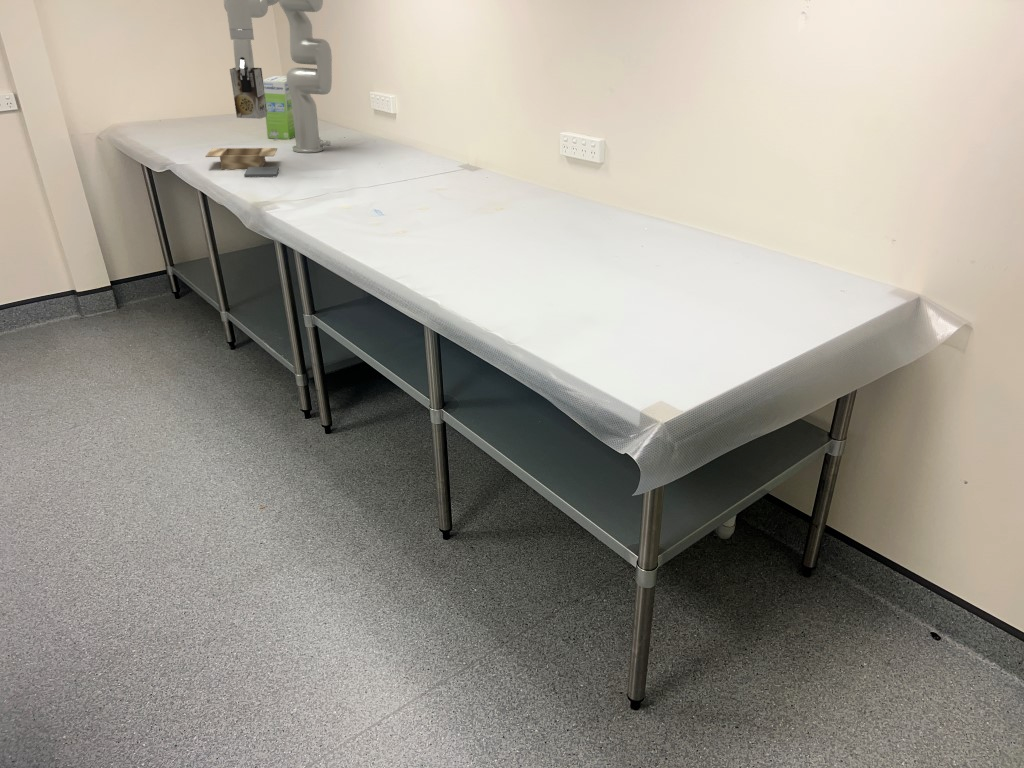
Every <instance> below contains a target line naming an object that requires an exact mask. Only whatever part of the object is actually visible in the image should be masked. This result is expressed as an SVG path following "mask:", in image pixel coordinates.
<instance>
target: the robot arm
mask: <svg viewBox="0 0 1024 768" xmlns="http://www.w3.org/2000/svg"><path fill="white" fill-rule="evenodd" d="M276 4H279V5H280V7H281V9H282V10H283V13H284V14H285V16H286V18H287V21H288V24H289V49H290V50H289V51H290V58H291V60H292V61H293V62H294V63H296V64H299V65H310V66H311V65H312V66H316V67H315V68H310V67H293V68H290V69H289V70H288V71H287V72H286V76H287V77H286V79H287V85H288V88H289V92H290V96H291V102H292V111H293V120H294V129H295V136H294V137H295V145H294V146H292V151H293V152H296V153H306V154H308V153H309V154H310V153H320V152H323V151H324V150H325V147H326V146H327V147H329V146H332V145H331V140H322V139H321V136H320V133H319V122H318V121H319V119H318V111H317V104H316V101H315V100H314V98H313V96H312V95H328V94H330V92H331V89H332V83H333V82H332V81H333V79H332V78H333V77H332V76H333V74H332V73H333V71H332V70H333V65H332V64H333V61H332V59H333V55H332V49H331V46H330V44H329V42H328V41H327V40H325V39H323V38H313V24H312V21H311V20H310V18H309V17H308V15H307V14H306V13H305V12H307V13H317V12H319V11H320V10H322V8H323V5H324V0H223V7H224V10H225V12H226V13H227V14H226V15H227V22H228V30H229V37H230V40H231V41H232V40H233V57H234V64H235V65H234V68H235V67H236V71H237V72H239V71H238V70H240V77H241V87H242V92H252V88H251V80H249V72H250V71H251V69H252V68H255V65H254V64H255V63H254V53H253V46H252V41H254V40H255V36H254V29H253V28H254V27H253V19H255V18H258V19H259V18H263V17H264V16H266V15H267V13H268V10H269V7H270V6H274V5H276ZM252 18H253V19H252ZM245 69H247V70H245ZM324 146H325V147H324ZM322 150H323V151H322Z"/></svg>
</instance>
